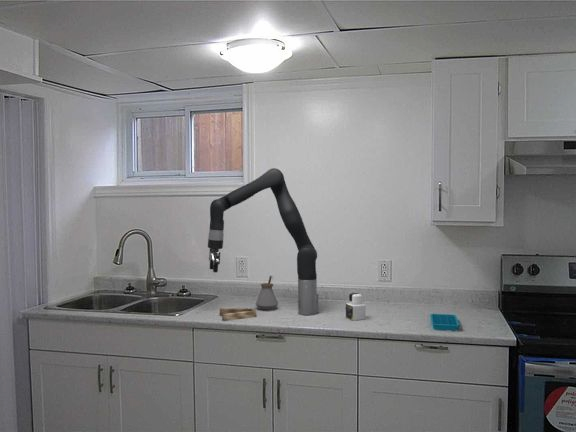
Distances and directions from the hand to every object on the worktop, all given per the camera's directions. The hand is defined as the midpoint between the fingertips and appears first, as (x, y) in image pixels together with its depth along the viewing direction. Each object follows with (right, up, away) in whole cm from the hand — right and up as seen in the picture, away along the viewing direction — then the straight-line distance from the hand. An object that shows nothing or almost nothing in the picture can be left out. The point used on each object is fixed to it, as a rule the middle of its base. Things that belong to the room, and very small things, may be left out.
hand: (213, 270), depth 264 cm
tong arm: (+13, -21, -6) cm, 25 cm away
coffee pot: (+27, -21, +12) cm, 36 cm away
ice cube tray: (+108, -22, -27) cm, 114 cm away
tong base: (+14, -21, -12) cm, 29 cm away
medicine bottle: (+70, -22, -15) cm, 74 cm away
